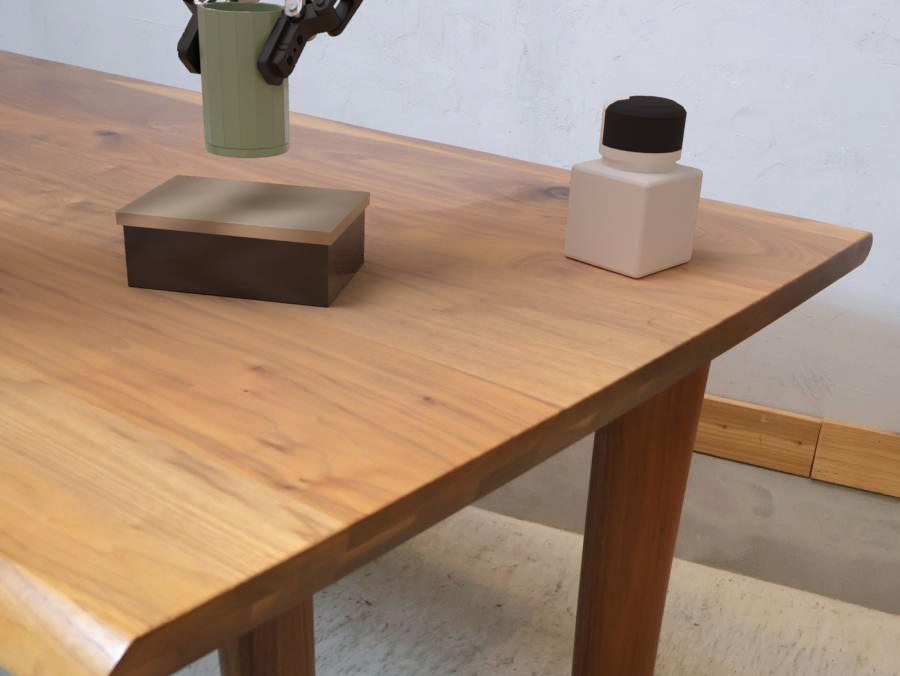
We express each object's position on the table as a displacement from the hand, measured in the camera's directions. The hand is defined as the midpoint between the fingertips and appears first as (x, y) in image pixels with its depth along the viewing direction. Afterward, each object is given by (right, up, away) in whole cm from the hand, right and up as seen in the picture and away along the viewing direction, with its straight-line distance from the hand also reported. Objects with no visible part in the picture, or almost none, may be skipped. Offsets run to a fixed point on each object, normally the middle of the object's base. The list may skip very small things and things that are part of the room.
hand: (227, 70), depth 74 cm
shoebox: (0, -12, +8) cm, 14 cm away
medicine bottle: (+28, -10, +15) cm, 33 cm away
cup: (+1, -4, +4) cm, 6 cm away
